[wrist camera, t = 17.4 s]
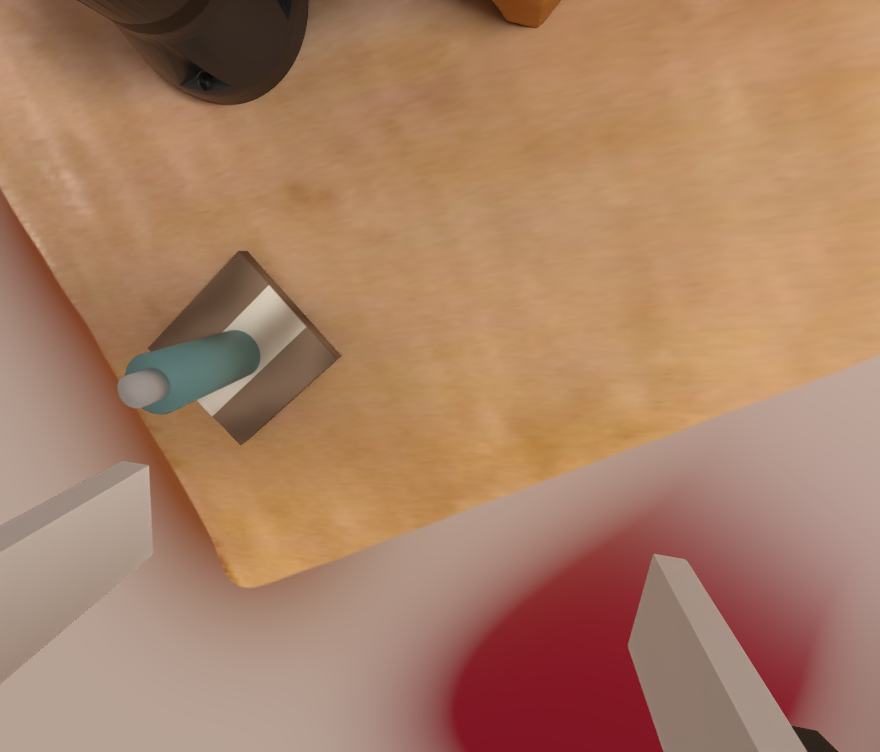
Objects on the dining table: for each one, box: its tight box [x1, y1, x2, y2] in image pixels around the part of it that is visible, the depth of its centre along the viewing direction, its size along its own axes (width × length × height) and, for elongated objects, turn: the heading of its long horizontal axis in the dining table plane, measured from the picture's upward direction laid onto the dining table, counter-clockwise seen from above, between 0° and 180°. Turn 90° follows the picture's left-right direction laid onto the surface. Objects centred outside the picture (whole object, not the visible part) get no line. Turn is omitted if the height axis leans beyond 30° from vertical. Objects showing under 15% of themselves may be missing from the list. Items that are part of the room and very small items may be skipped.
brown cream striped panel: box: [148, 251, 341, 445], centre depth 44 cm, size 13×14×2 cm
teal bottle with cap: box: [117, 330, 260, 414], centre depth 37 cm, size 5×5×13 cm
